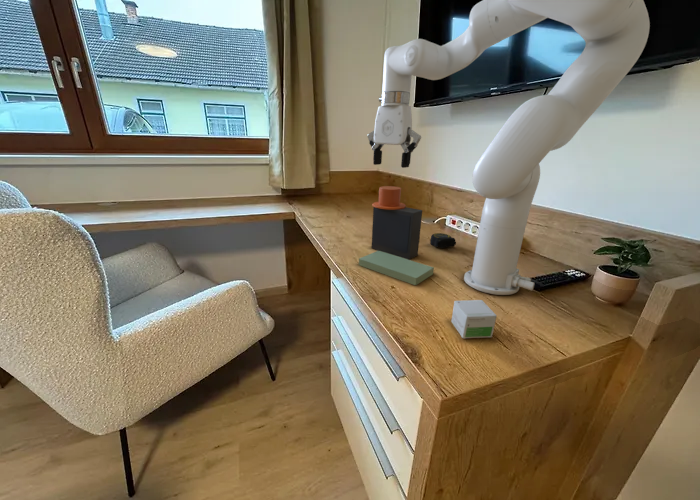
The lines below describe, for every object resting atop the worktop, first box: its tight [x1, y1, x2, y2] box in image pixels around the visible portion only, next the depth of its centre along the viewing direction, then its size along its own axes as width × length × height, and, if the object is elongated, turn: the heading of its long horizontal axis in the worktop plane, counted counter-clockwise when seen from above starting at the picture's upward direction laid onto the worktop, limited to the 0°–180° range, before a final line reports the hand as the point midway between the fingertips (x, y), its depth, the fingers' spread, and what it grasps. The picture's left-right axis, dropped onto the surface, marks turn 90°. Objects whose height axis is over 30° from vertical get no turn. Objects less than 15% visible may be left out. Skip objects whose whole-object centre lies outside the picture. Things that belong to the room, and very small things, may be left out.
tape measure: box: [429, 232, 457, 249], centre depth 102 cm, size 7×7×4 cm
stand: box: [358, 250, 435, 286], centre depth 83 cm, size 18×9×2 cm, turn 49°
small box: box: [450, 299, 497, 340], centre depth 57 cm, size 6×6×5 cm
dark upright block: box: [370, 206, 423, 260], centre depth 94 cm, size 14×5×14 cm, turn 49°
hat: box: [372, 185, 407, 210], centre depth 93 cm, size 10×10×6 cm
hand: (390, 165), depth 90 cm, fingers open, 9 cm apart
